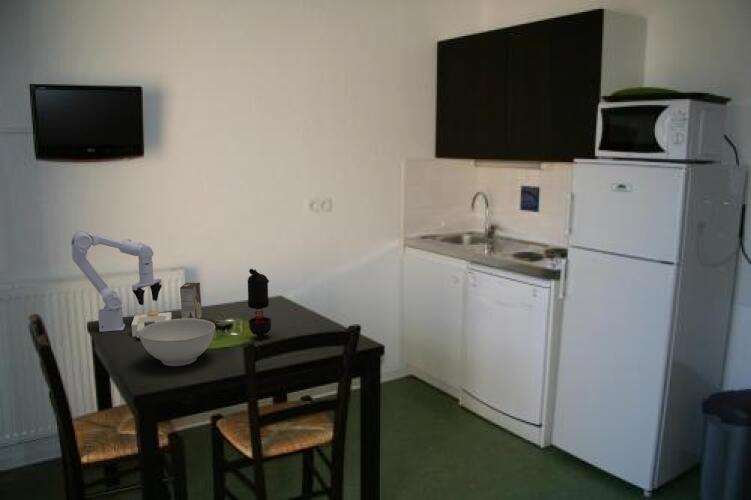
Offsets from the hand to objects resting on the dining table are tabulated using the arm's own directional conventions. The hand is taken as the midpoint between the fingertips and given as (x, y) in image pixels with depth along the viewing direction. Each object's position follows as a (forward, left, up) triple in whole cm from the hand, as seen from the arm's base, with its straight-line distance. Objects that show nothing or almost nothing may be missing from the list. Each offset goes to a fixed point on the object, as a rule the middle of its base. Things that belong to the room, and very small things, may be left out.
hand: (148, 302), depth 274 cm
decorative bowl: (+14, -51, -10) cm, 54 cm away
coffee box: (+18, +1, -10) cm, 20 cm away
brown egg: (+2, -5, -8) cm, 9 cm away
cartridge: (+2, -19, -8) cm, 21 cm away
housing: (+2, -10, -9) cm, 14 cm away
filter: (+46, -32, -10) cm, 57 cm away
